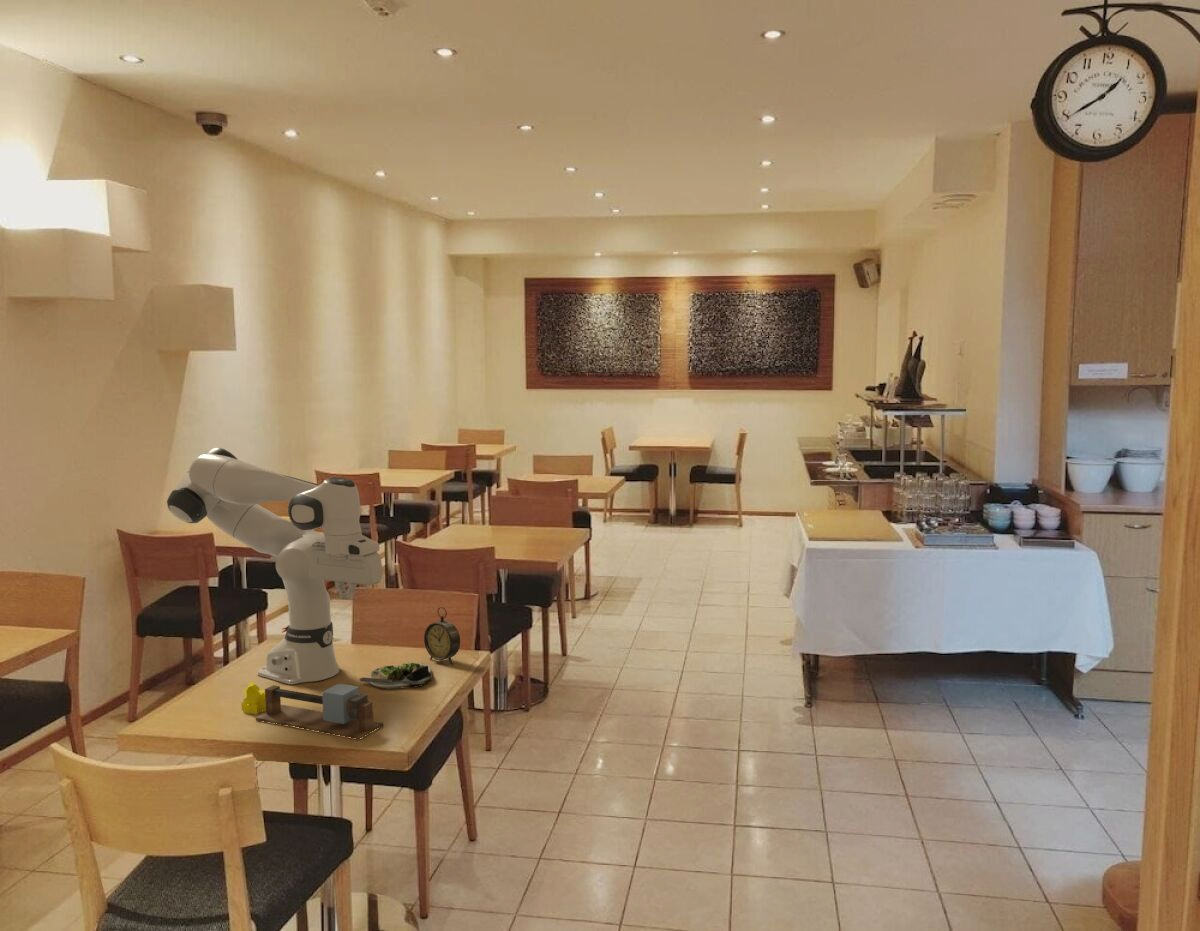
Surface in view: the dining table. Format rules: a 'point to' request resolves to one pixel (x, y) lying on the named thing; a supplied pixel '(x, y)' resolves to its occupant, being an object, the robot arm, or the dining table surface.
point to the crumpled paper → (254, 699)
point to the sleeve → (338, 702)
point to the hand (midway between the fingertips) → (346, 598)
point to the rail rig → (319, 714)
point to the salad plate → (400, 676)
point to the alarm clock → (442, 639)
